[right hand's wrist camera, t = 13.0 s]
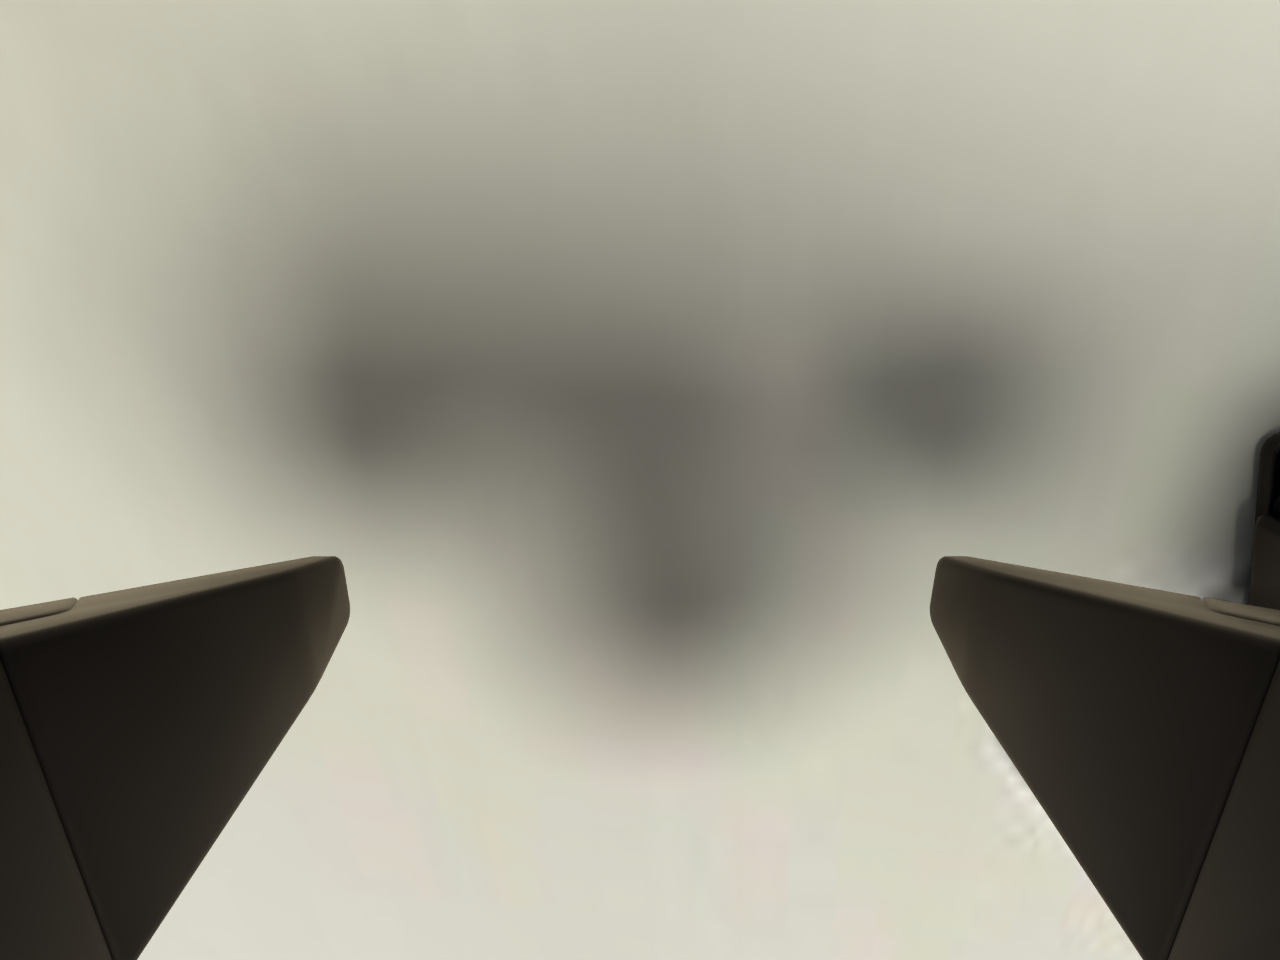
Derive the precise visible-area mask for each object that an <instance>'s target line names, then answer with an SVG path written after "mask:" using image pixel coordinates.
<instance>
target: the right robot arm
mask: <svg viewBox="0 0 1280 960" xmlns="http://www.w3.org/2000/svg"><path fill="white" fill-rule="evenodd" d="M349 616H350V603H349V597H348V591H347V584H346V578H345V572H344V567H343V564H342V562H341V560H340V559H339V558H337V557H335V556H329V557H307V558H301V559H296V560H290V561H284V562H279V563H273V564H267V565H262V566H256V567H250V568H245V569H239V570H233V571H228V572H222V573H216V574H211V575H205V576H199V577H194V578H188V579H182V580H177V581H171V582H165V583H160V584H154V585H148V586H143V587H137V588H131V589H125V590H120V591H114V592H108V593H103V594H97V595H91V596H86V597H81V598H80V599H79V600H77V599H76V598H69V599H63V600H57V601H51V602H46V603H40V604H34V605H28V606H22V607H16V608H10V609H5V610H0V960H137V959H138V957H139V956H140V954H141V953H142V951H143V950H144V948H145V947H146V945H147V944H148V942H149V941H150V939H151V938H152V936H153V935H154V933H155V932H156V930H157V929H158V927H159V926H160V924H161V923H162V921H163V920H164V918H165V916H166V915H167V913H168V912H169V910H170V909H171V907H172V906H173V904H174V903H175V901H176V900H177V898H178V897H179V895H180V894H181V892H182V891H183V889H184V888H185V886H186V885H187V883H188V882H189V880H190V879H191V877H192V876H193V874H194V873H195V871H196V870H197V868H198V867H199V865H200V864H201V862H202V861H203V859H204V857H205V856H206V854H207V853H208V851H209V850H210V848H211V847H212V845H213V844H214V842H215V841H216V839H217V838H218V836H219V835H220V833H221V832H222V830H223V829H224V827H225V826H226V824H227V823H228V821H229V820H230V818H231V817H232V815H233V814H234V812H235V811H236V809H237V808H238V806H239V805H240V803H241V802H242V800H243V798H244V797H245V795H246V794H247V792H248V791H249V789H250V788H251V786H252V785H253V783H254V782H255V780H256V779H257V777H258V776H259V774H260V773H261V771H262V770H263V768H264V767H265V765H266V764H267V762H268V761H269V759H270V758H271V756H272V755H273V753H274V752H275V750H276V749H277V747H278V746H279V744H280V742H281V741H282V739H283V738H284V736H285V735H286V733H287V732H288V730H289V729H290V727H291V726H292V724H293V723H294V721H295V720H296V718H297V717H298V715H299V714H300V712H301V711H302V709H303V708H304V706H305V705H306V703H307V702H308V700H309V698H310V697H311V695H312V694H313V692H314V690H315V689H316V687H317V685H318V683H319V681H320V679H321V677H322V675H323V673H324V671H325V669H326V667H327V665H328V663H329V661H330V659H331V657H332V655H333V653H334V651H335V648H336V646H337V644H338V642H339V640H340V638H341V636H342V634H343V632H344V630H345V628H346V626H347V623H348V620H349ZM930 616H931V620H932V623H933V626H934V628H935V630H936V632H937V634H938V636H939V638H940V640H941V642H942V644H943V646H944V648H945V651H946V653H947V655H948V657H949V659H950V661H951V663H952V665H953V667H954V669H955V671H956V673H957V675H958V677H959V679H960V681H961V683H962V685H963V687H964V689H965V690H966V692H967V694H968V695H969V697H970V698H971V700H972V702H973V703H974V705H975V706H976V708H977V709H978V711H979V712H980V714H981V715H982V717H983V718H984V720H985V721H986V723H987V724H988V726H989V727H990V729H991V730H992V732H993V733H994V735H995V736H996V738H997V739H998V741H999V742H1000V744H1001V745H1002V747H1003V748H1004V750H1005V752H1006V753H1007V755H1008V756H1009V758H1010V759H1011V761H1012V762H1013V764H1014V765H1015V767H1016V768H1017V770H1018V771H1019V773H1020V774H1021V776H1022V777H1023V779H1024V780H1025V782H1026V783H1027V785H1028V786H1029V788H1030V789H1031V791H1032V792H1033V794H1034V795H1035V797H1036V798H1037V800H1038V801H1039V803H1040V804H1041V806H1042V807H1043V809H1044V810H1045V812H1046V813H1047V815H1048V817H1049V818H1050V820H1051V821H1052V823H1053V824H1054V826H1055V827H1056V829H1057V830H1058V832H1059V833H1060V835H1061V836H1062V838H1063V839H1064V841H1065V842H1066V844H1067V845H1068V847H1069V848H1070V850H1071V851H1072V853H1073V854H1074V856H1075V857H1076V859H1077V860H1078V862H1079V863H1080V865H1081V866H1082V868H1083V870H1084V871H1085V873H1086V874H1087V876H1088V877H1089V879H1090V880H1091V882H1092V883H1093V885H1094V886H1095V888H1096V889H1097V891H1098V892H1099V894H1100V895H1101V897H1102V898H1103V900H1104V901H1105V903H1106V904H1107V906H1108V907H1109V909H1110V910H1111V912H1112V913H1113V915H1114V916H1115V918H1116V919H1117V921H1118V923H1119V924H1120V926H1121V927H1122V929H1123V930H1124V932H1125V933H1126V935H1127V936H1128V938H1129V939H1130V941H1131V942H1132V944H1133V945H1134V947H1135V948H1136V950H1137V951H1138V953H1139V954H1140V956H1141V957H1142V959H1143V960H1280V433H1277V434H1275V435H1273V436H1272V437H1271V438H1269V439H1268V440H1267V441H1266V443H1265V444H1264V445H1263V447H1262V450H1261V453H1260V463H1259V477H1258V490H1257V503H1256V516H1255V530H1254V543H1253V556H1252V569H1251V583H1250V596H1249V605H1246V604H1240V603H1234V602H1229V601H1223V600H1217V599H1211V598H1204V599H1203V600H1201V599H1200V598H1199V597H1195V596H1189V595H1183V594H1178V593H1172V592H1166V591H1161V590H1155V589H1149V588H1144V587H1138V586H1132V585H1127V584H1121V583H1115V582H1110V581H1104V580H1098V579H1092V578H1087V577H1081V576H1075V575H1070V574H1064V573H1058V572H1053V571H1047V570H1041V569H1036V568H1030V567H1024V566H1019V565H1013V564H1007V563H1001V562H996V561H990V560H984V559H979V558H973V557H965V556H945V557H943V558H941V559H940V560H939V562H938V564H937V567H936V572H935V578H934V584H933V591H932V597H931V603H930Z"/></svg>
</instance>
